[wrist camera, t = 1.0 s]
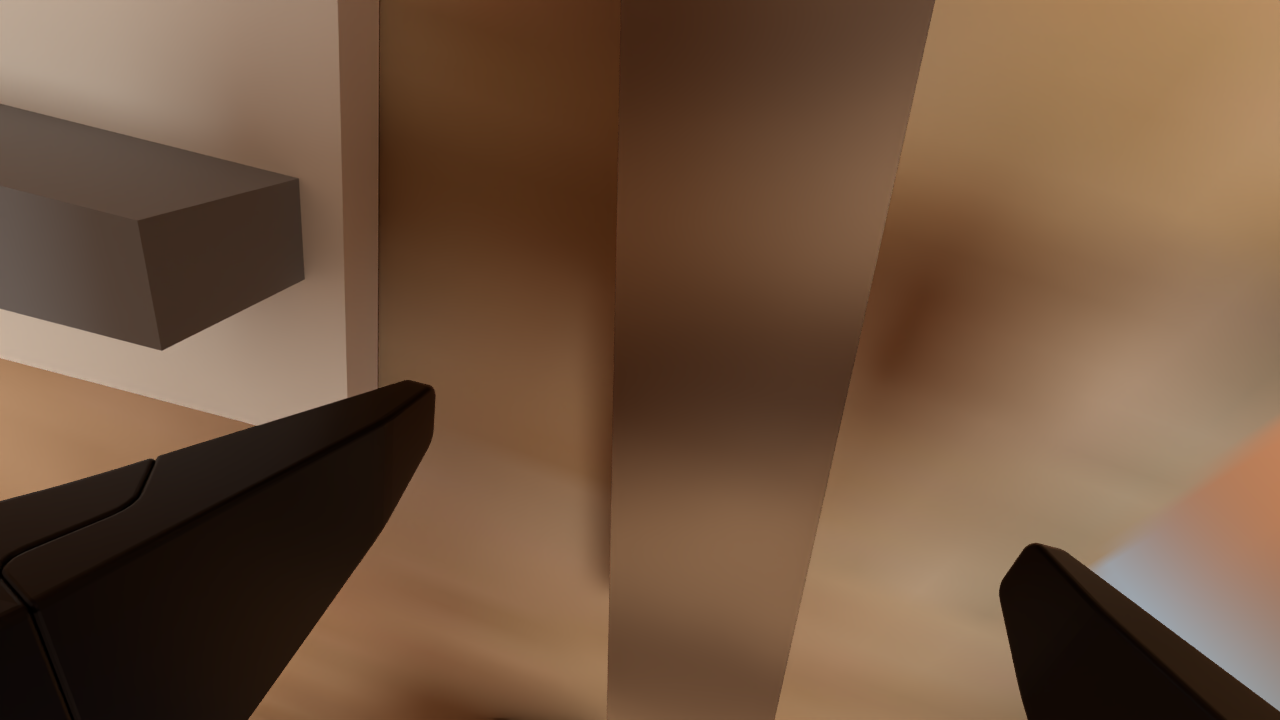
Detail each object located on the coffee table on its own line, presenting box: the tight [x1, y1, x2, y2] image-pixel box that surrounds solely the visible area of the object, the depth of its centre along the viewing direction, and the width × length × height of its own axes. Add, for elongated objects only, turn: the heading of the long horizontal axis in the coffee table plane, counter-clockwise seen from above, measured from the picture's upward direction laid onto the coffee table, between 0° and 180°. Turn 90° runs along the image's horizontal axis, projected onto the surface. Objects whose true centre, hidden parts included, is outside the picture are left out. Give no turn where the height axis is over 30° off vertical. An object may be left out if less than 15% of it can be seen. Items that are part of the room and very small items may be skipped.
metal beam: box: [607, 0, 935, 720], centre depth 13 cm, size 20×4×5 cm, turn 178°
